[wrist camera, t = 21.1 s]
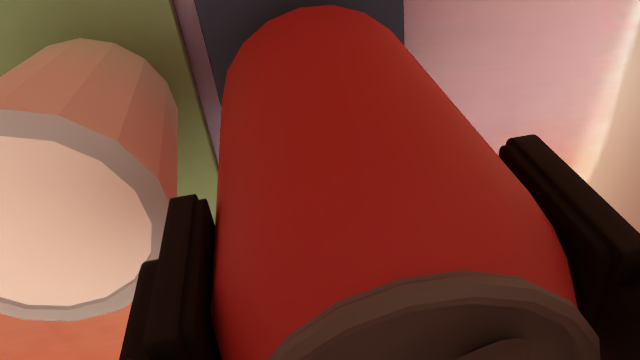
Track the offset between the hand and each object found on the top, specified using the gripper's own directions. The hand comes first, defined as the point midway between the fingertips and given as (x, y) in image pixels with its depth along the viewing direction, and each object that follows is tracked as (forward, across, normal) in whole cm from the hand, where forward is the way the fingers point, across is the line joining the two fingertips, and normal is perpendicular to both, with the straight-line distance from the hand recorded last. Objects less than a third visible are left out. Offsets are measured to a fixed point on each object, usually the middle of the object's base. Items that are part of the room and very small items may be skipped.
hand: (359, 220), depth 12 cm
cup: (+9, +8, 0) cm, 12 cm away
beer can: (+7, 0, 0) cm, 7 cm away
